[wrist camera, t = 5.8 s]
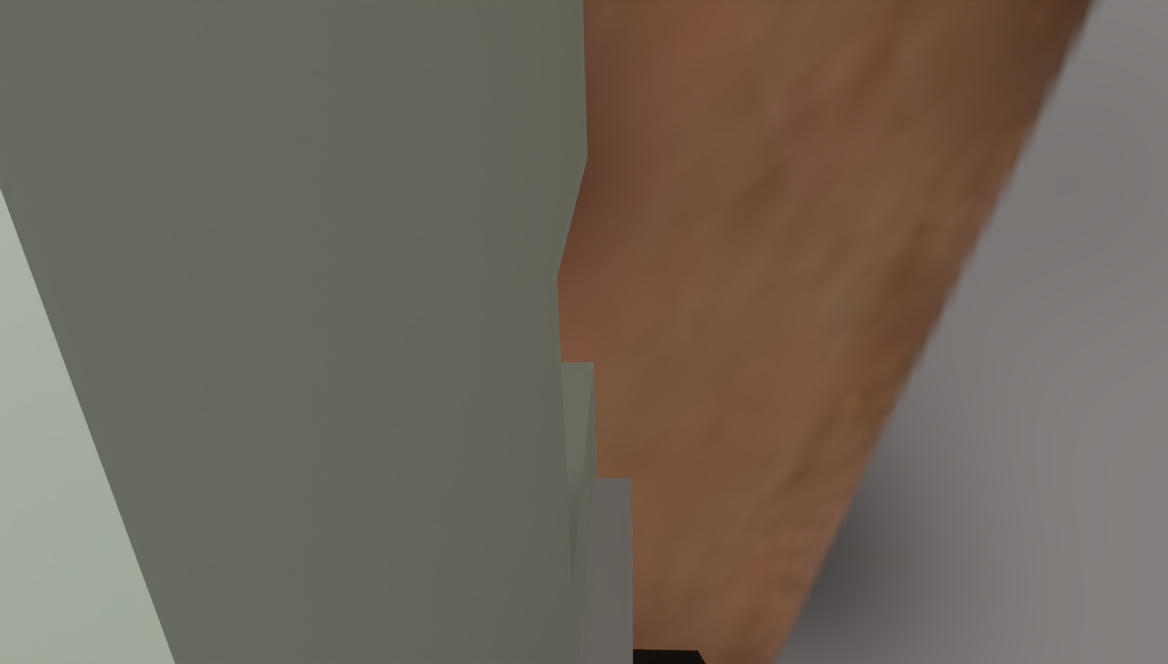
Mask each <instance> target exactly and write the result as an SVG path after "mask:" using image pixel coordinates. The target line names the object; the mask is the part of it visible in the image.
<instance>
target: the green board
mask: <svg viewBox="0 0 1168 664" xmlns="http://www.w3.org/2000/svg"><path fill="white" fill-rule="evenodd" d="M587 158H588V155H587V121H586V87H585V54H584V20H583V0H0V664H579V651H580V638H581V625H582V611H583V598H584V585H585V571H586V558H587V545H588V531H589V518H590V505H591V492H592V478H597V458H596V424H595V391H594V362H581V363H561V352H560V332H559V312H558V292H557V276H558V272H559V268H560V264H561V260H562V256H563V252H564V248H565V244H566V240H567V236H568V232H569V229H570V225H571V221H572V217H573V213H574V209H575V205H576V201H577V197H578V193H579V189H580V185H581V181H582V178H583V174H584V170H585V166H586V162H587Z"/></svg>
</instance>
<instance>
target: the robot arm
mask: <svg viewBox="0 0 1168 664" xmlns="http://www.w3.org/2000/svg"><path fill="white" fill-rule="evenodd" d="M579 664H705V662H704V660H703V659H702V657H701V655H700V654H699V652H698V651H691V650H643V649H633V579H632V478H592V492H591V505H590V518H589V531H588V545H587V558H586V571H585V585H584V598H583V611H582V625H581V638H580V651H579Z"/></svg>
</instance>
